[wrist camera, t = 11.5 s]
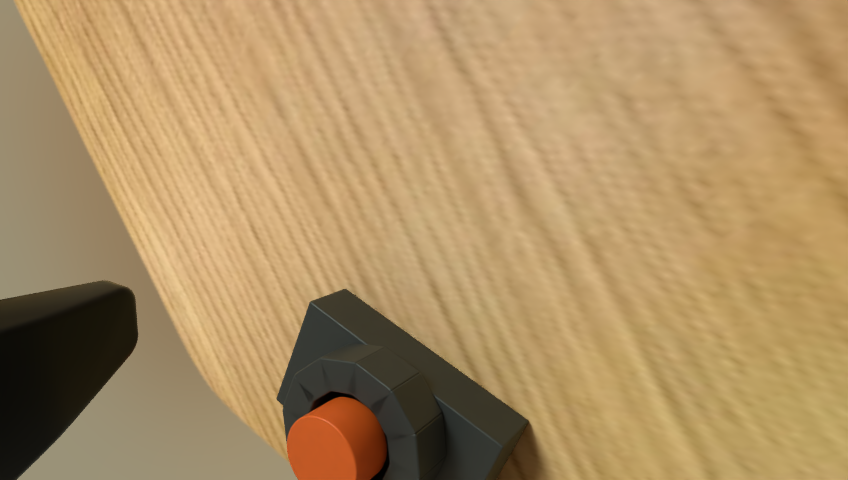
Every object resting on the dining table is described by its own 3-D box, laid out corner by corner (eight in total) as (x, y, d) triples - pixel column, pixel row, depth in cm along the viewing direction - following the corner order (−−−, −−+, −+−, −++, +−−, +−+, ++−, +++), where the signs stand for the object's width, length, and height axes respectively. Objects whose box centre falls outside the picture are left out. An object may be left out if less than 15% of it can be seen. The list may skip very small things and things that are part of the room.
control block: (534, 410, 23) (484, 462, 19) (471, 524, 25) (416, 587, 22) (348, 278, 26) (279, 303, 23) (308, 388, 28) (239, 425, 25)
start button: (399, 431, 21) (368, 455, 20) (370, 494, 22) (339, 521, 21) (334, 379, 22) (300, 398, 21) (310, 441, 24) (276, 463, 22)
